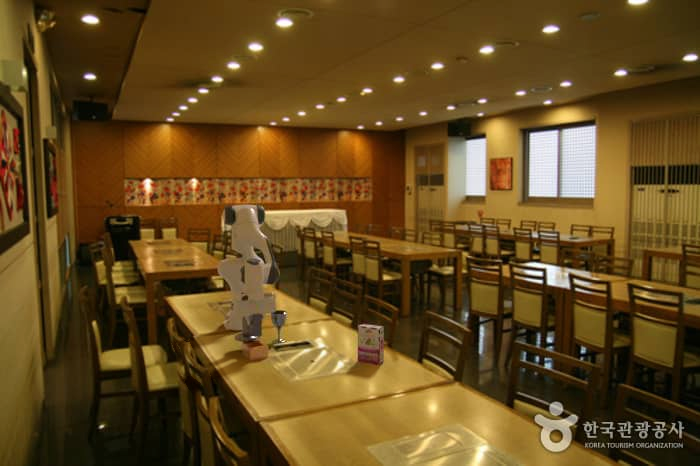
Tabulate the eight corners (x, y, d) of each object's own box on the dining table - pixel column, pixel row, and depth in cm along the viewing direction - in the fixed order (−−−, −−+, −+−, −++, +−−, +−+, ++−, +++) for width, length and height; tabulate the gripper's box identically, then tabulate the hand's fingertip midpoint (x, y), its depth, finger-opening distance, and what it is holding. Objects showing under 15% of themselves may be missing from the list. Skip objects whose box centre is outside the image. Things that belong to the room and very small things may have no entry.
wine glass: (288, 338, 277) (288, 310, 275) (284, 343, 269) (284, 314, 267) (273, 338, 277) (272, 310, 276) (269, 342, 270) (269, 313, 268)
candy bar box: (384, 361, 242) (384, 326, 241) (379, 364, 238) (379, 328, 236) (362, 357, 247) (362, 323, 246) (357, 361, 243) (357, 325, 241)
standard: (231, 348, 260) (230, 308, 258) (254, 344, 266) (254, 305, 264) (247, 361, 242) (246, 317, 240) (271, 356, 248) (271, 314, 246)
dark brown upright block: (248, 334, 250) (248, 312, 249) (256, 332, 252) (256, 311, 251) (253, 337, 245) (253, 315, 244) (261, 335, 247) (261, 314, 246)
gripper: (272, 291, 255) (273, 319, 256) (231, 295, 244) (231, 325, 246) (278, 293, 250) (278, 322, 251) (235, 298, 239) (236, 328, 240)
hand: (255, 324), depth 248 cm, fingers closed on dark brown upright block, 4 cm apart
